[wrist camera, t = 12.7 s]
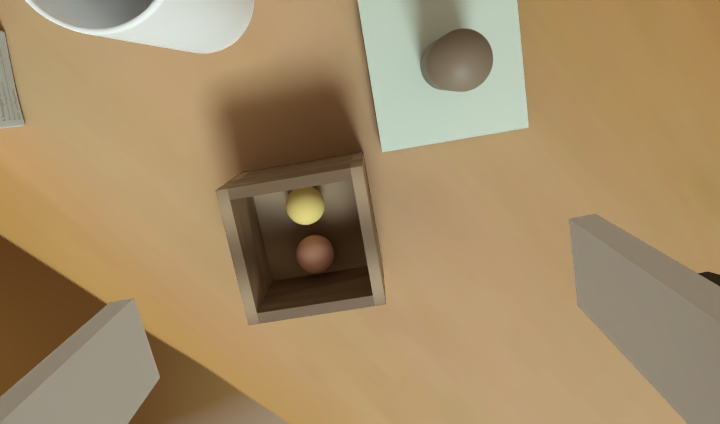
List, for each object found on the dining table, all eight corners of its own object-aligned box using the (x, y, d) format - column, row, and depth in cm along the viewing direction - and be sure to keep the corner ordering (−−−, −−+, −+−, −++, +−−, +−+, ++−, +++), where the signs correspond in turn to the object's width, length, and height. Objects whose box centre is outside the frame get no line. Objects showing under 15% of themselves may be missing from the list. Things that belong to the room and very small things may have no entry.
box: (240, 173, 41) (215, 190, 35) (363, 152, 41) (362, 166, 34) (267, 287, 44) (248, 325, 37) (383, 269, 43) (386, 304, 36)
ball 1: (285, 185, 41) (278, 193, 38) (322, 179, 41) (318, 187, 38) (292, 221, 42) (287, 232, 39) (329, 215, 41) (326, 225, 38)
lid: (357, 0, 37) (354, -22, 29) (509, -28, 37) (548, -58, 29) (381, 150, 40) (385, 167, 32) (523, 126, 39) (563, 137, 31)
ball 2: (295, 233, 42) (289, 244, 39) (331, 227, 42) (329, 238, 39) (302, 268, 42) (297, 281, 40) (338, 262, 42) (336, 275, 39)
